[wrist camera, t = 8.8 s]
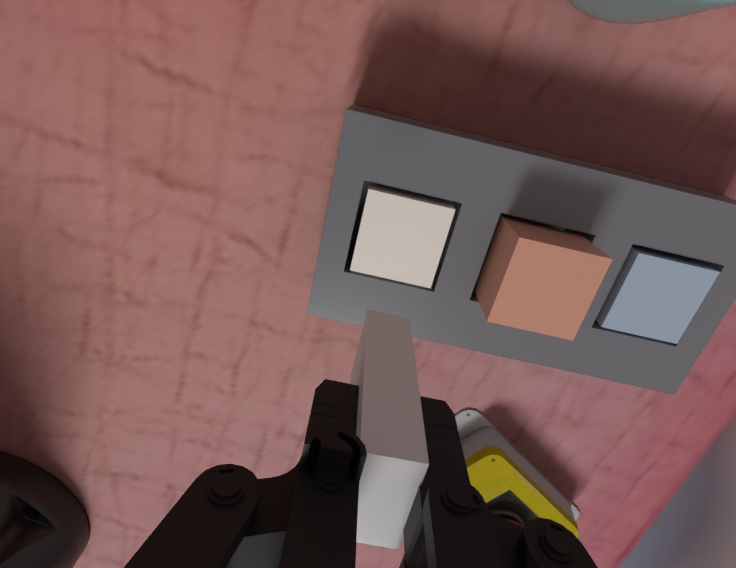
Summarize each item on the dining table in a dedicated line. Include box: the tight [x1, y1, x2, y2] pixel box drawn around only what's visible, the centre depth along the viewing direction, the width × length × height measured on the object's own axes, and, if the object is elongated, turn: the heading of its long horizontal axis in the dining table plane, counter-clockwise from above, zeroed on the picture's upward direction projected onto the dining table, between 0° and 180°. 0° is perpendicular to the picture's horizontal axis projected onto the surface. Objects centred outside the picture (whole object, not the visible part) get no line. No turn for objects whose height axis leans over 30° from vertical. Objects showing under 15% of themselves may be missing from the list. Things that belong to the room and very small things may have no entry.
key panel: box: [307, 105, 736, 394], centre depth 26 cm, size 22×11×4 cm, turn 77°
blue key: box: [595, 244, 720, 344], centre depth 25 cm, size 4×4×4 cm
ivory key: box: [350, 182, 455, 288], centre depth 25 cm, size 4×4×4 cm
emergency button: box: [455, 409, 579, 538], centre depth 35 cm, size 9×4×15 cm
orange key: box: [474, 216, 612, 341], centre depth 23 cm, size 4×4×4 cm
